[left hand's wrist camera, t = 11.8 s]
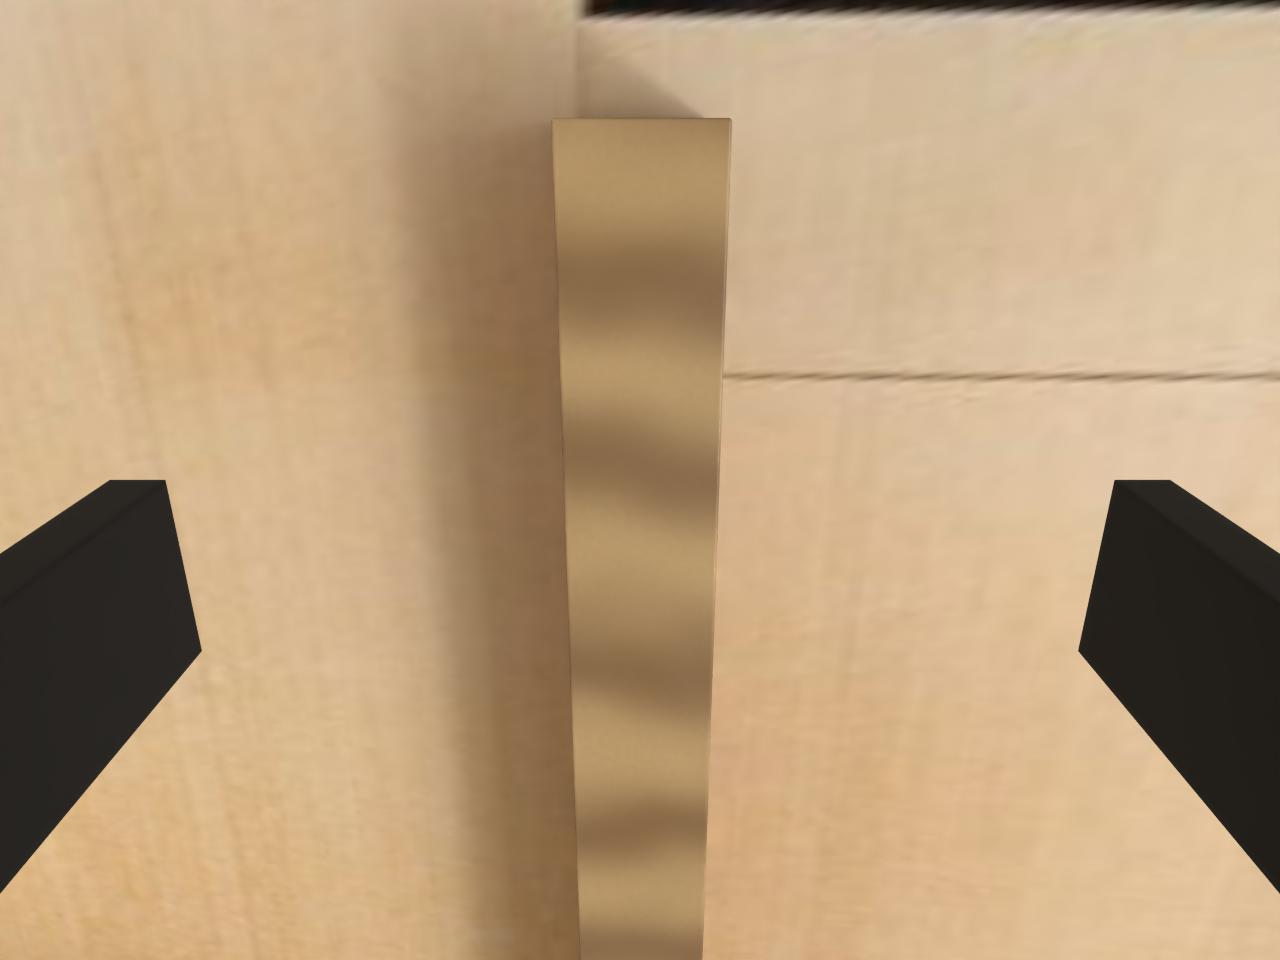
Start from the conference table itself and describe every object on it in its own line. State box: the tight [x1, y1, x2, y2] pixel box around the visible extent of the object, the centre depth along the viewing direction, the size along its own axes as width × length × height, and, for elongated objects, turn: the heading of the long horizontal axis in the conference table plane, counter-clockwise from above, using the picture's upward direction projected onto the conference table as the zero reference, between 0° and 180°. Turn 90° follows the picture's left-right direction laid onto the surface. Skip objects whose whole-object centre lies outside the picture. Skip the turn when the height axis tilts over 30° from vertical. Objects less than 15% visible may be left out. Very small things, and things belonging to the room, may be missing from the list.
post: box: [551, 118, 732, 960], centre depth 40 cm, size 61×5×8 cm, turn 0°
